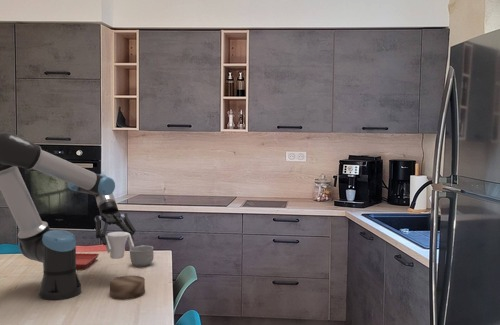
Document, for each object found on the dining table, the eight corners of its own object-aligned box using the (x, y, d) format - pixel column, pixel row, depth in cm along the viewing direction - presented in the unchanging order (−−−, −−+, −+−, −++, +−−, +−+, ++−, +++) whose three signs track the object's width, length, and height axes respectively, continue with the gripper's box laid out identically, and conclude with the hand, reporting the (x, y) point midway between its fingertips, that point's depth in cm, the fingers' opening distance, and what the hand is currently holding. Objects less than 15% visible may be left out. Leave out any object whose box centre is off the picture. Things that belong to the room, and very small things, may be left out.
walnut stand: (121, 301, 182) (121, 288, 182) (103, 293, 191) (103, 280, 191) (151, 293, 191) (151, 280, 191) (132, 285, 200) (132, 273, 200)
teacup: (150, 268, 226) (150, 250, 225) (126, 268, 226) (126, 250, 226) (157, 260, 240) (156, 243, 239) (134, 260, 240) (134, 243, 240)
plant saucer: (86, 271, 222) (86, 263, 222) (46, 270, 223) (46, 263, 223) (99, 260, 240) (99, 253, 240) (62, 260, 241) (62, 253, 241)
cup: (106, 260, 199) (106, 235, 199) (106, 255, 208) (107, 231, 208) (129, 259, 202) (129, 234, 201) (128, 254, 211) (128, 230, 210)
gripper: (128, 209, 223) (143, 251, 211) (79, 212, 210) (92, 258, 198) (133, 198, 218) (148, 241, 206) (83, 201, 206) (96, 247, 193)
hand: (121, 249), depth 202 cm, fingers closed on cup, 9 cm apart
